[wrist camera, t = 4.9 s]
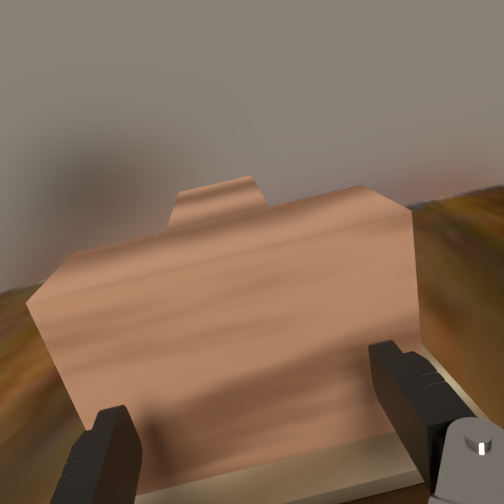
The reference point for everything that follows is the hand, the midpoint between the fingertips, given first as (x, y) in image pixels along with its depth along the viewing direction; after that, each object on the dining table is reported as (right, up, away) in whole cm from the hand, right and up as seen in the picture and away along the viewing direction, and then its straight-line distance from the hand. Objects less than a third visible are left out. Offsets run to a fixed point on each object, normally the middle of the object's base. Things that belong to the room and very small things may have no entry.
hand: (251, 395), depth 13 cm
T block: (0, -2, +11) cm, 12 cm away
